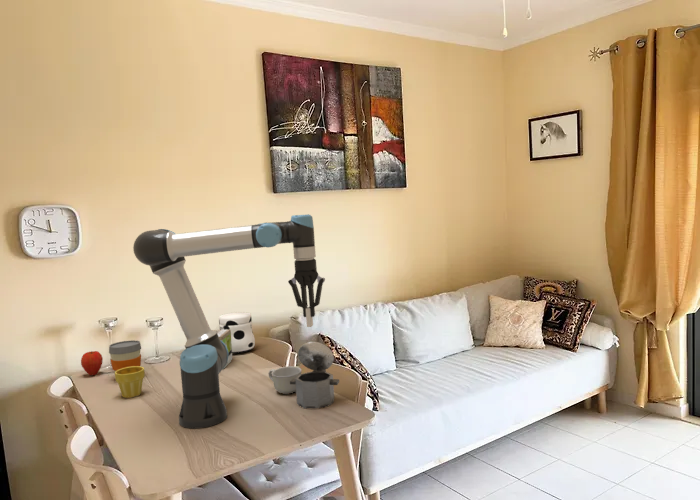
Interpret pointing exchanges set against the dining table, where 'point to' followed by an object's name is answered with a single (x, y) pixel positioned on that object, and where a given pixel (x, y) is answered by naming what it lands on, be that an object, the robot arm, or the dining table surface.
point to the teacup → (284, 378)
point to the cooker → (315, 389)
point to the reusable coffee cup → (125, 354)
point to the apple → (91, 362)
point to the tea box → (226, 342)
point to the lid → (315, 356)
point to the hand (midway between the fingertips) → (310, 326)
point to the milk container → (238, 330)
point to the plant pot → (130, 380)
